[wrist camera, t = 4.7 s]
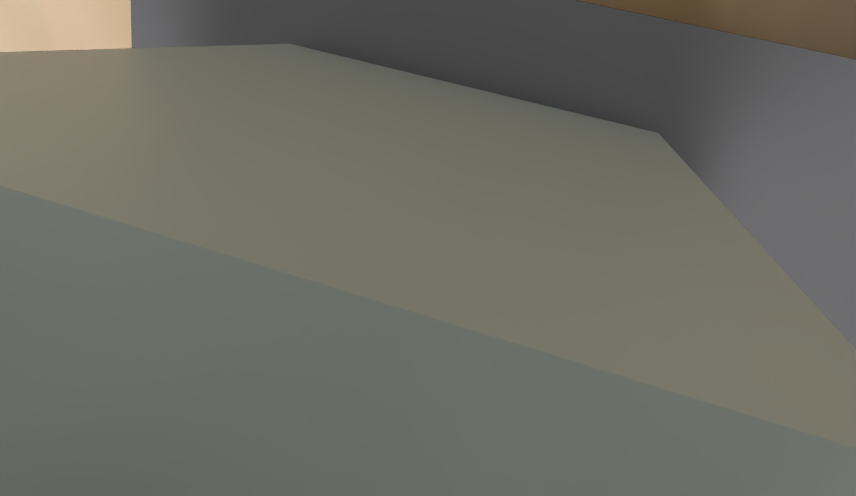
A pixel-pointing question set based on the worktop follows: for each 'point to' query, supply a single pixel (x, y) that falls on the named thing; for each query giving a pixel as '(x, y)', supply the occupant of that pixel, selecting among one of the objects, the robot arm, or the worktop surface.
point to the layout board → (611, 97)
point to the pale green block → (382, 294)
